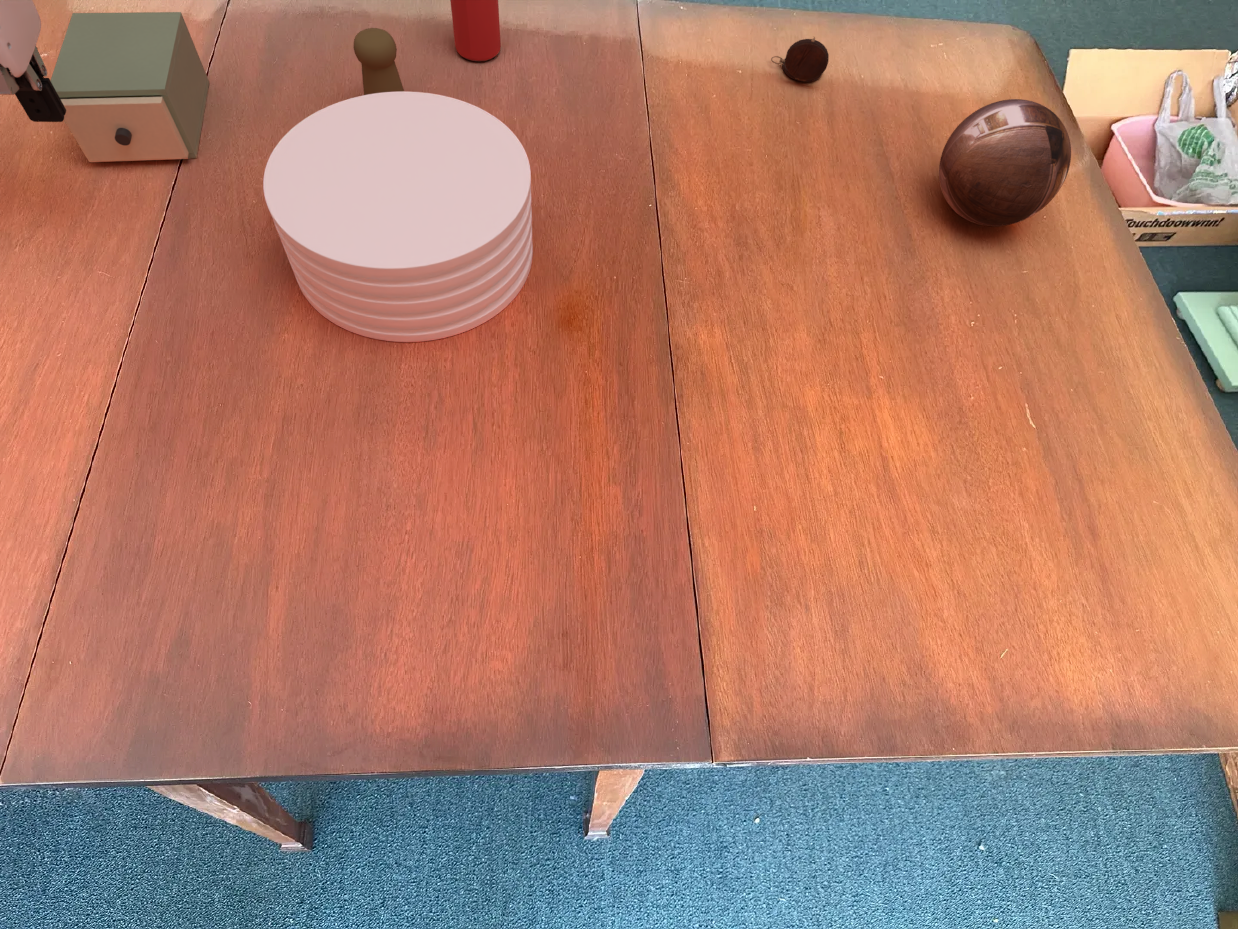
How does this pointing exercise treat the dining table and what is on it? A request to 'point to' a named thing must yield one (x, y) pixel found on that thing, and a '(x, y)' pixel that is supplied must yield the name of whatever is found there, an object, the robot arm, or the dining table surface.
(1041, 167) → the wooden sphere
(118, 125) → the drawer
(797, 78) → the compass
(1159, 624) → the dining table surface
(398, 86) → the brown knobbed cone
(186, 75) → the cabinet
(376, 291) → the plate stack
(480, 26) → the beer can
